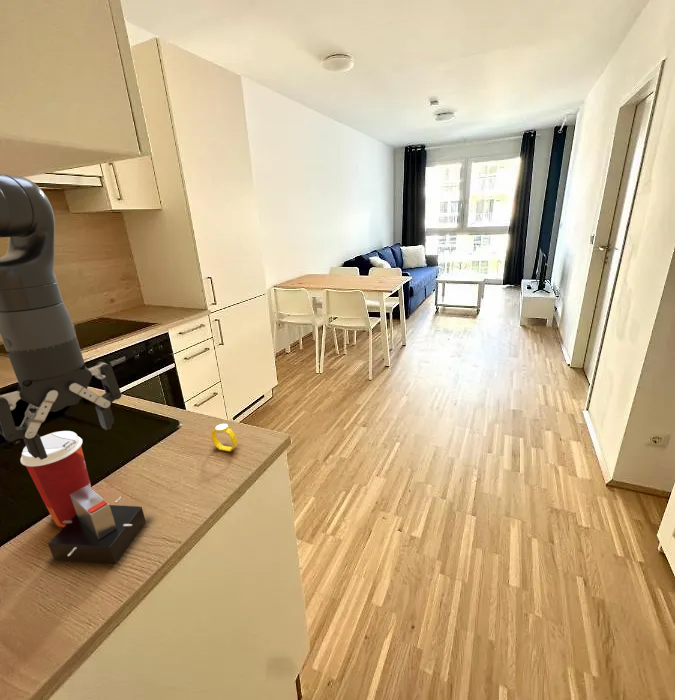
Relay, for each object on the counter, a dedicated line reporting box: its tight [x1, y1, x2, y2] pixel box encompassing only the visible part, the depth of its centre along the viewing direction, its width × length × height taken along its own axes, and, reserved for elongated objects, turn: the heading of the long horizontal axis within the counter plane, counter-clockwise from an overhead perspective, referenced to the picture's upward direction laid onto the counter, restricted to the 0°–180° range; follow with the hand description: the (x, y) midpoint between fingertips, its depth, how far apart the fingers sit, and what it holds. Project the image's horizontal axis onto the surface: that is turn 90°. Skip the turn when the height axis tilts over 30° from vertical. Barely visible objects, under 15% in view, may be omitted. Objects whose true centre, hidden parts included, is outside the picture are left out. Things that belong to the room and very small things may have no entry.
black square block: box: [47, 496, 147, 565], centre depth 58 cm, size 12×12×4 cm
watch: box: [210, 423, 238, 452], centre depth 80 cm, size 6×3×6 cm, turn 69°
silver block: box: [70, 485, 117, 540], centre depth 56 cm, size 8×3×5 cm, turn 55°
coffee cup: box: [19, 430, 92, 528], centre depth 61 cm, size 8×8×15 cm
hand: (76, 441), depth 53 cm, fingers open, 8 cm apart
